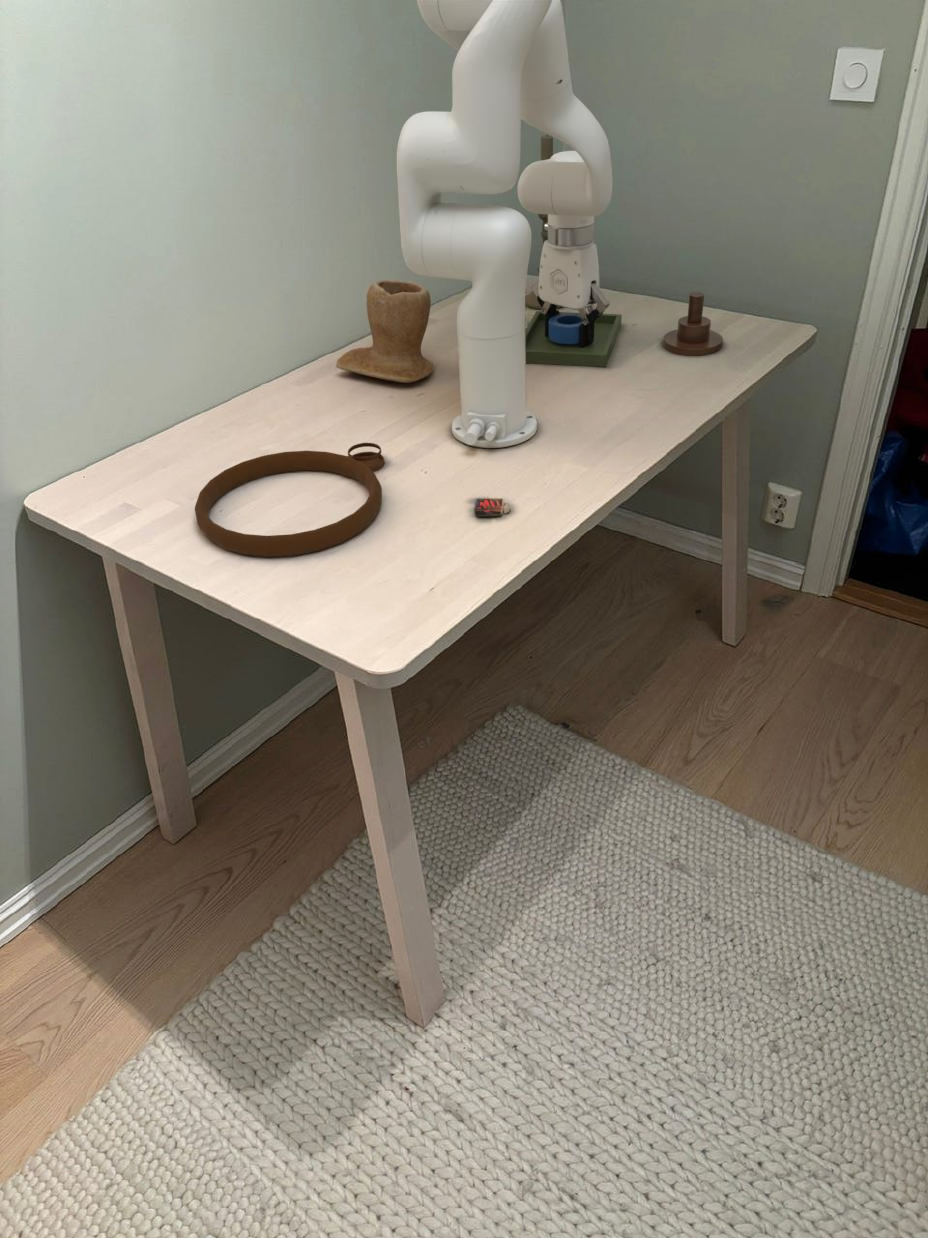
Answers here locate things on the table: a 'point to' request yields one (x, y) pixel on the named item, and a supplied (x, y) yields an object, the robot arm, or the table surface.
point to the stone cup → (393, 333)
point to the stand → (693, 332)
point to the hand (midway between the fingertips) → (569, 339)
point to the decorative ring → (348, 466)
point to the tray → (572, 354)
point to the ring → (565, 328)
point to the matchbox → (490, 506)
